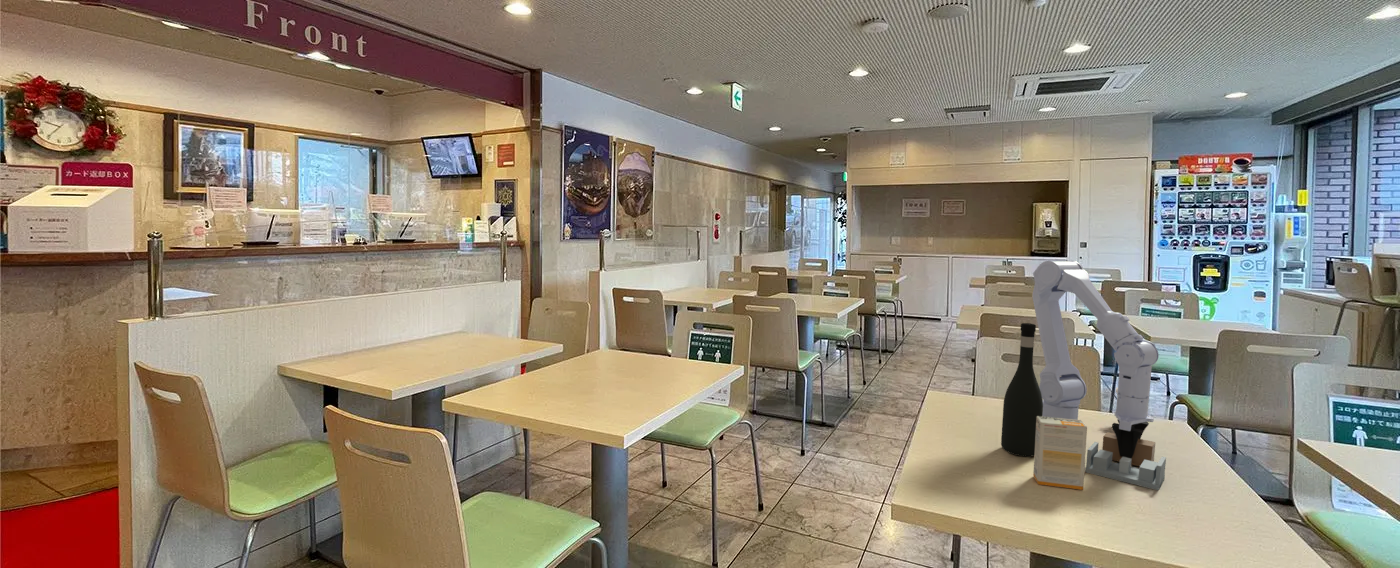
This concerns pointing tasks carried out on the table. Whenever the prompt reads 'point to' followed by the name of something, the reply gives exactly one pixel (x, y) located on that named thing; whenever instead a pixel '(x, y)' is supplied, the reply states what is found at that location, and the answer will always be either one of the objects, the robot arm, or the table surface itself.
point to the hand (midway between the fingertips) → (1127, 454)
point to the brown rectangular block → (1141, 452)
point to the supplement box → (1060, 452)
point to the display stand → (1125, 468)
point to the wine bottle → (1022, 401)
